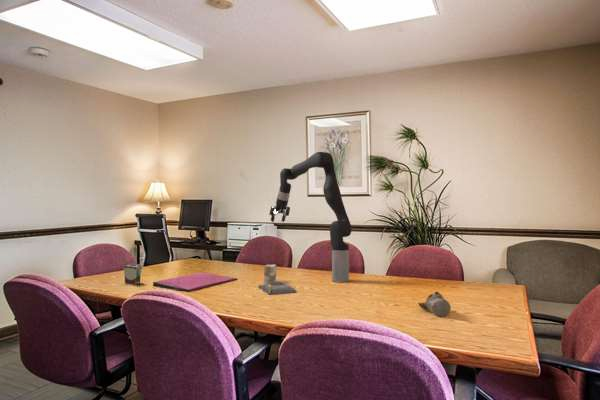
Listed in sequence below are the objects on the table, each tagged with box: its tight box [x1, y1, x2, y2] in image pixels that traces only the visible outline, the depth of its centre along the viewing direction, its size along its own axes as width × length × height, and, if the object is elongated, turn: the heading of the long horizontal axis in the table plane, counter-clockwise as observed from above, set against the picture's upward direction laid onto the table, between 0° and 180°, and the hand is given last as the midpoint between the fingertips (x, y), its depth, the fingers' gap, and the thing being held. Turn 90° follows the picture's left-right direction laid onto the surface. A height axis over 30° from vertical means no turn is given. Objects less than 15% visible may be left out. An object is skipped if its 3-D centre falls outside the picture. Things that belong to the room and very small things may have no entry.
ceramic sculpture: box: [417, 291, 451, 318], centre depth 158 cm, size 11×9×15 cm
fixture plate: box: [258, 280, 297, 296], centre depth 200 cm, size 14×18×4 cm
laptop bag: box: [152, 272, 238, 293], centre depth 217 cm, size 40×4×27 cm
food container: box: [122, 263, 143, 286], centre depth 218 cm, size 12×6×10 cm, turn 58°
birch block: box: [263, 264, 277, 284], centre depth 220 cm, size 5×7×9 cm
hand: (277, 221), depth 265 cm, fingers open, 8 cm apart
